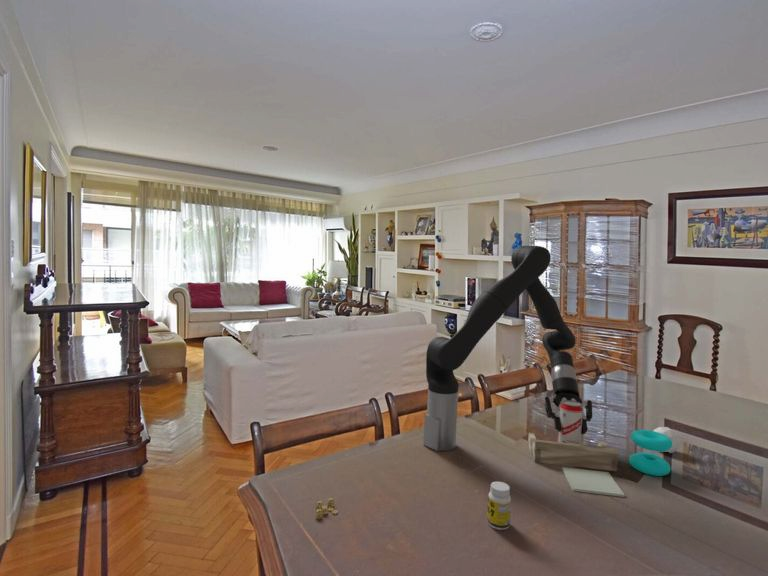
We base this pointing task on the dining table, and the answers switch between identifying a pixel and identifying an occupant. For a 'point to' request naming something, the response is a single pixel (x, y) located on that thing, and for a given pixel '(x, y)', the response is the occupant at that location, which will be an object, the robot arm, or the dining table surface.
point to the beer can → (570, 422)
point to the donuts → (646, 460)
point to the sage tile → (592, 482)
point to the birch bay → (574, 454)
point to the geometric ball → (671, 435)
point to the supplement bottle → (499, 506)
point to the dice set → (324, 508)
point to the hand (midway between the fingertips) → (571, 431)
